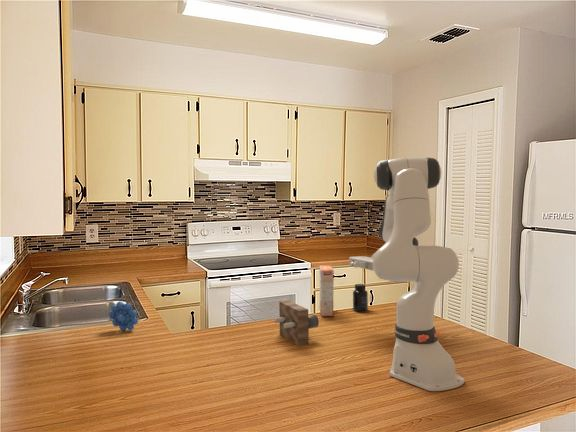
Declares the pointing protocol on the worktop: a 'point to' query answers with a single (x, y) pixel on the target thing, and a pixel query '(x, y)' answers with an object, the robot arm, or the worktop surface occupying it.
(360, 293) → the supplement bottle
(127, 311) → the blue gear
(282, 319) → the teal knob
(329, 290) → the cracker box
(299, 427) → the worktop surface
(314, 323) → the black knob
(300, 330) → the block
